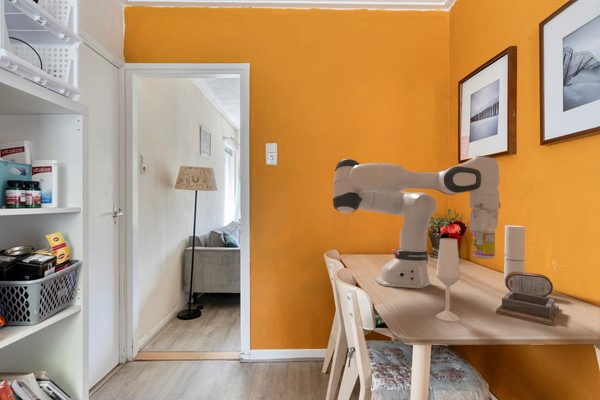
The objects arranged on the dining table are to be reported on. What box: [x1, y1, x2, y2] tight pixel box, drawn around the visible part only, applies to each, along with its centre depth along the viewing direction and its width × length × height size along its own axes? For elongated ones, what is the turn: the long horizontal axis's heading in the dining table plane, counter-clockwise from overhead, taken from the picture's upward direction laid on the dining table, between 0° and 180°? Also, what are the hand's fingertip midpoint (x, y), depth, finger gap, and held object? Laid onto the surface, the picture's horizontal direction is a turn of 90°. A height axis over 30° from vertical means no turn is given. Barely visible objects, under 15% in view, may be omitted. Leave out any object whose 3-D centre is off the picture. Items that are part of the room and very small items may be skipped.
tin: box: [504, 271, 554, 297], centre depth 122 cm, size 15×3×8 cm, turn 65°
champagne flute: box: [435, 237, 461, 322], centre depth 99 cm, size 7×7×24 cm
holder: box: [495, 290, 560, 326], centre depth 105 cm, size 20×14×4 cm
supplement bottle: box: [471, 220, 496, 260], centre depth 110 cm, size 7×7×13 cm
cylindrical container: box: [503, 224, 526, 285], centre depth 137 cm, size 7×7×25 cm
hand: (483, 243), depth 110 cm, fingers closed on supplement bottle, 7 cm apart
